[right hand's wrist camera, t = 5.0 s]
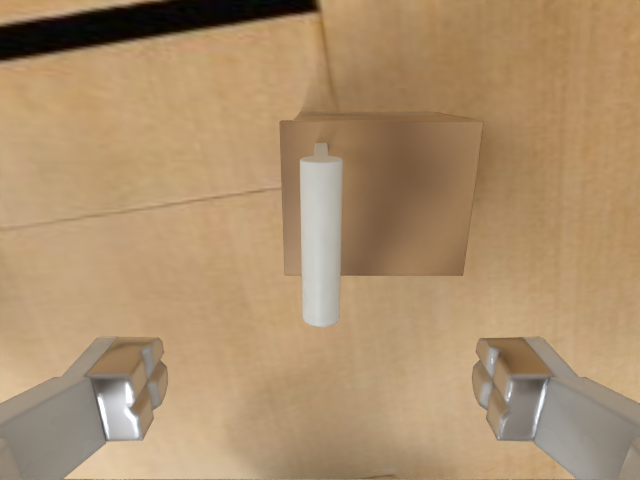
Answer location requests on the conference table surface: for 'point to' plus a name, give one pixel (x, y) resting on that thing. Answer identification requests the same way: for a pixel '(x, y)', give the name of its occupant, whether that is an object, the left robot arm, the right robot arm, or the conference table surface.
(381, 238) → the lid
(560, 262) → the conference table surface
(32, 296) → the conference table surface
